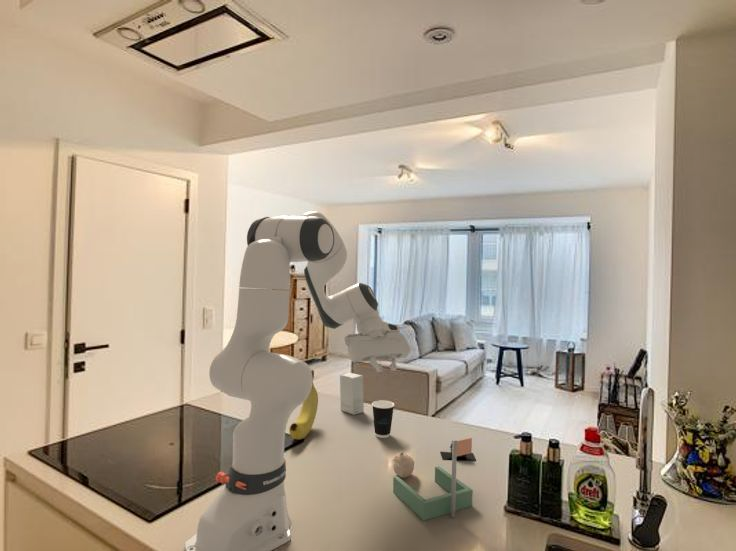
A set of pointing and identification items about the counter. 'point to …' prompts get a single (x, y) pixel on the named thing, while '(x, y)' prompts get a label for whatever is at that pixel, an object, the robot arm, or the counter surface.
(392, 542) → the counter surface
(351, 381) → the skincare box
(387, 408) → the dixie cup
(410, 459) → the garlic bulb
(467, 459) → the build plate
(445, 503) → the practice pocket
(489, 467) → the counter surface
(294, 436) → the banana
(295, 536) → the counter surface
